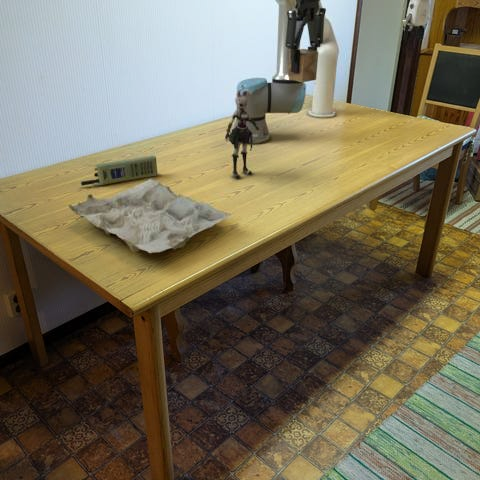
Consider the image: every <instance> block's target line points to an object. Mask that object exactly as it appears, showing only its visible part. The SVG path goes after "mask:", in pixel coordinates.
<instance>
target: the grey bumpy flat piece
mask: <svg viewBox="0 0 480 480" xmlns="http://www.w3.org/2000/svg"><path fill="white" fill-rule="evenodd" d="M68 208H69V209H70V210H71V211H72V213H74V214H75V215H78V216H79V218H80V219H83V218H85V219H86V220H87V221H89V222H91V223H92V224H93V225H94V226H95V227H96V228H98V229H101V230H103V231H104V232H105V233H106V234H107V235H108V236H110V235H111V234H113V235H116V236H117V237H118V238H120V239H121V240H123V241H124V243H125V244H127V246H128V248H129V249H130V251H131V252H132V253H133V252H134V253H136V252H139V251H141V250H142V251H145V252H147V253H149V254H152V253H162V252H164V251H166V250H169V249H173V250H177V249H178V248H181V249H182V248H184V247H185V245H186V243H187V242H188V241H190V239H191V238H192V237H193V236H194V235H196V234H199V233H200V232H202V231H204V230H206V229H208V228H213V226H215V224H219V222H222V221H223V220H224V219H226V218H229V217H230V216H232V213H227V212H226V211H225V212H224V211H222V210H219V209H216V208H214V207H213V206H212V205H211V204H210V203H205V202H204V201H196V200H194V199H192V198H189V196H184V195H181V194H178V195H177V194H175V193H174V192H173V190H172V189H171V188H170V186H167V185H163V184H162V183H161V182H160V181H159V180H156V179H153V178H149V179H147V180H145V181H143V182H141V183H139V184H136V185H134V186H133V187H130V188H129V189H125V190H123V191H121V192H120V193H117V194H115V195H113V196H111V197H109V198H101V199H99V198H96V197H94V196H93V194H88V195H87V197H86V200H85V201H82V202H80V201H79V202H78V203H77V205H72V204H68Z"/></svg>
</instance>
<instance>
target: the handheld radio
mask: <svg viewBox="0 0 480 480" xmlns="http://www.w3.org/2000/svg"><path fill="white" fill-rule="evenodd" d="M157 164H158V163H157V156H156V155H147V156H141V157H140V156H139V157H134V158H127V159H121V160H115V161H108V162H101V163H96V164H93V167H94V168H93V171H97V172H95V173H94V174H93V175H94V177H96V179H90V180H83V181H82V180H81V181H80V185H81V186H88V185H93V184H94V185H96V186H97V187H98V186H99V187H100V186H105V185H109V184H115V183H121V182H128V181H134V180H139V179H144V178H151V177H156V176H158V175H159V174H158V165H157Z"/></svg>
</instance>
